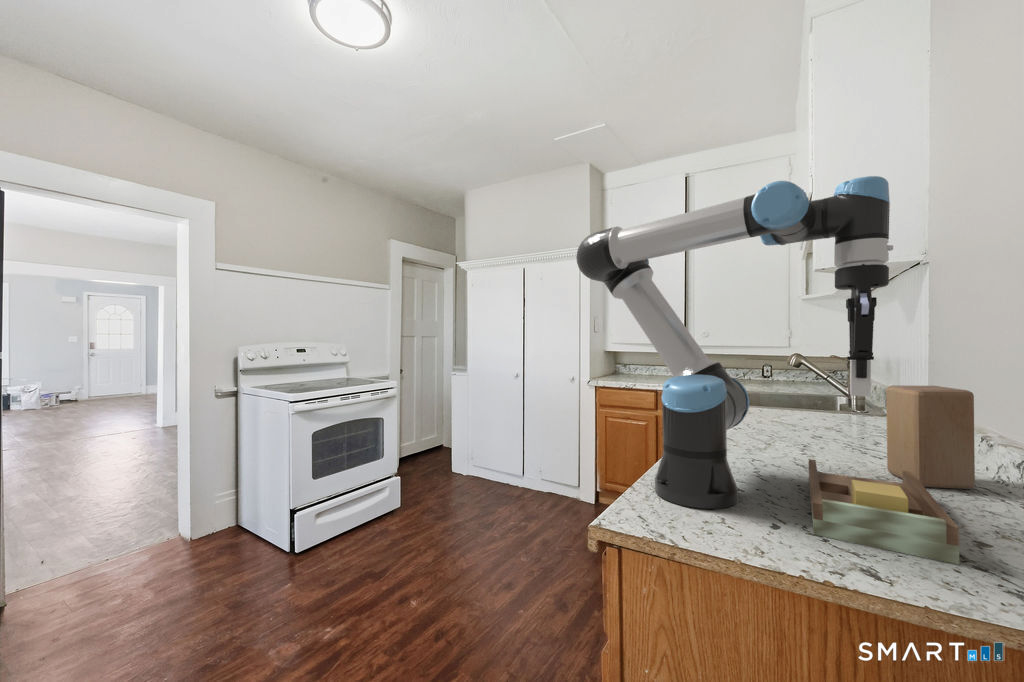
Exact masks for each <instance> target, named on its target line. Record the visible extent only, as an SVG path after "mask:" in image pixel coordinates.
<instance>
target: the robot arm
mask: <svg viewBox="0 0 1024 682" xmlns="http://www.w3.org/2000/svg"><path fill="white" fill-rule="evenodd" d="M834 190H835V191H834V193H833V195H832V196H829V197H824V198H821V199H813V200H809V197H808V196H807V192H805V191H804V189H803V188H801V187H800V186H798V185H797V184H796V183H793V182H791V181H787V180H776V181H773V182H769V183H768V184H766V185H765V186H763V187H762V188H760V190H758V191H757V193H754V194H751V195H747V196H745V197H741V198H738V199H734V200H730V201H725V202H722V203H717V204H716V205H711V206H707V207H704V208H700V209H696V210H691V211H687V212H684V213H680V214H677V215H673V216H669V217H666V218H661V219H657V220H654V221H651V222H647V223H643V224H639V225H635V226H632V227H631V226H630V227H627V228H624V229H623V228H622V227H621V226H612V227H610V228H606V229H602V230H600V231H599V230H598V231H596V232H593V233H591V234H590V235H587V236H586V237H585V238H584V239H583V240H582V241H581V243H580V244H579V246H578V248H577V252H576V263H577V267H578V269H579V271H580V272H581V273H582V274H583V276H585V277H586V278H588V279H590V280H593V281H597V282H600V283H604V285H605V286H606V288H607V290H608V291H609V293H610V294H611V295H612V297H613V298H615V299H620V300H622V302H624V304H625V305H626V307H627V308H628V310H629V311H630V313H631V314H632V316H633V317H634V319H635V321H636V322H637V323H638V325H639V326H640V328H641V329H642V331H643V332H644V334H645V335H646V337H647V339H648V340H649V342H650V343H651V345H652V346H653V348H654V349H655V350H656V352H657V354H658V355H659V357H660V358H661V360H662V361H663V363H664V364H665V365H666V367H667V368H668V370H669V371H670V373H671V375H672V376H673V377H670V378H668V379H666V380H665V381H664V382H663V385H662V393H661V402H662V404H661V406H662V408H661V409H662V410H661V411H662V444H663V445H662V449H663V450H662V451H663V452H662V456H661V460H660V461H659V462H660V463H659V464H658V467H657V468H658V469H657V471H656V474H655V477H654V492H655V493H656V494H657V495H658V497H660V498H662V499H664V500H666V501H668V502H670V503H673V504H677V505H680V506H684V507H689V508H695V509H706V510H707V509H708V510H709V509H713V510H714V509H715V510H717V509H725V508H730V507H732V506H734V505H736V504H737V503H738V501H739V500H738V499H739V498H738V495H739V494H738V487H737V484H736V480H735V478H734V475H733V472H732V470H731V467H730V465H729V462H728V461H729V460H728V458H727V457H728V453H727V446H728V445H727V431H728V430H730V429H732V428H734V427H736V426H738V425H739V424H740V423H742V421H743V420H744V419H745V417H746V416H747V414H748V412H749V409H750V402H751V401H750V396H749V394H748V393H749V392H748V390H747V389H746V387H745V386H744V385H743V384H742V383H741V382H740V381H738V380H737V379H736V378H735V377H733V376H730V375H729V373H728V372H727V370H726V369H725V368H724V367H723V365H722V364H721V362H720V361H719V360H714V359H710V358H708V356H707V355H706V353H705V352H704V351H703V350H702V348H701V347H700V345H699V344H698V342H697V341H696V340H695V337H693V336H692V334H691V333H690V331H689V330H688V328H687V327H686V326H685V325H684V323H683V322H682V320H681V318H680V317H679V316H678V314H677V313H676V312H675V310H674V309H673V308H672V306H671V305H670V304H669V302H668V300H667V299H666V298H665V296H664V294H662V292H661V291H660V289H659V288H658V287H657V285H656V284H655V283H654V281H653V276H654V270H653V269H652V267H651V266H650V261H649V259H654V258H659V257H663V256H669V255H672V254H677V253H678V254H679V253H682V252H688V251H692V250H697V249H701V248H707V247H711V246H716V245H722V244H725V243H731V242H736V241H740V240H744V239H745V240H746V239H750V238H755V237H759V238H760V240H761V243H763V245H765V246H785V245H789V244H795V243H801V242H808V241H816V240H824V239H831V238H832V239H833V238H834V240H835V241H834V262H833V264H834V265H833V266H834V267H836V270H835V271H834V288H835V289H836V290H839V291H840V290H842V291H847V290H849V291H851V293H850V294H851V295H850V298H847V299H845V308H846V309H847V322H848V323H849V324H848V325H849V328H848V330H849V333H848V334H849V335H848V336H849V351H848V355H849V356H846V360H847V361H849V363H850V364H849V365H850V367H849V368H850V371H849V372H850V373H849V374H850V377H849V379H850V381H849V384H850V385H849V386H850V387H849V388H850V390H849V392H850V393H849V394H850V396H852V397H853V396H854V397H866V398H867V397H868V398H870V397H871V396H872V394H871V393H872V392H871V391H872V390H871V388H872V387H871V385H872V384H871V381H872V380H871V377H872V376H871V372H872V370H871V369H872V368H871V367H872V366H871V365H872V363H871V362H872V360H873V361H874V360H875V359H874V358H875V356H874V352H873V343H874V342H873V341H874V325H875V324H874V321H875V319H876V318H875V317H876V316H875V315H876V313H875V308H876V306H877V304H878V302H877V297H872V289H879V288H884V287H885V288H886V287H887V286H888V285H889V283H890V274H889V273H890V268H889V266H888V265H887V264H886V263H887V262H889V259H890V257H889V252H890V251H893V250H894V245H892V244H889V241H890V240H889V239H890V212H891V211H890V206H891V203H890V188H889V181H888V180H887V179H886V178H885V177H883V176H879V175H878V176H877V175H869V176H862V177H861V176H860V177H855V178H852V179H851V180H846V181H843V182H841V183H839V184H838V185H837V186H836V187H835V189H834Z"/></svg>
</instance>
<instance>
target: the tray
mask: <svg viewBox="0 0 1024 682" xmlns="http://www.w3.org/2000/svg"><path fill="white" fill-rule="evenodd" d="M852 480H858V481H866V482H873V483H880V484H887V485H894V486H900V488H901V489H902V490H903V492H904V493H905V495H906V496H907V498H908V513H904V512H898V511H892V510H886V509H880V508H874V507H868V506H862V505H856V504H852ZM808 488H809V489H808V490H809V499H810V507H811V508H810V509H811V510H810V512H811V518H812V519H811V520H812V530H813V531H812V533H813V536H814V535H815V536H819V537H824V538H830V539H833V540H838V541H844V542H848V543H852V544H859V545H863V546H868V547H872V548H877V549H882V550H887V551H891V552H892V551H893V552H896V553H900V552H901V553H902V554H906V555H911V556H915V555H916V557H920V556H922V557H921V558H925V557H927V558H926V559H929V558H930V559H931V560H935V561H940V562H945V563H949V564H954V565H960V528H959V526H958V525H957V524H956V523H955V521H953V519H952V518H951V516H949V515H948V513H947V512H946V511H945V509H943V507H942V506H941V505H940V504H939V503H938V501H937V500H936V499H935V498H934V497H933V495H932V494H930V492H929V491H928V490H927V489H926V487H924V486H923V485H922V484H921V483H920V482H919V480H918V479H917V478H916V477H915V476H914V475H913V473H912V472H909V471H903V479H902V482H894V481H888V480H887V481H886V480H879V479H871V478H864V477H858V476H851V475H842V474H837V473H836V474H835V473H834V474H833V473H827V472H820V471H818V468H817V461H816V459H810V458H809V459H808ZM930 559H929V560H930Z"/></svg>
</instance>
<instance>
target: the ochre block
mask: <svg viewBox="0 0 1024 682" xmlns="http://www.w3.org/2000/svg"><path fill="white" fill-rule="evenodd" d="M852 504H856V505H862V506H868V507H874V508H880V509H886V510H892V511H898V512H904V513H908V498H907V496H906V495H905V493H904V492H903V490H902V489H901V488H900V486H894V485H887V484H880V483H873V482H866V481H858V480H852Z"/></svg>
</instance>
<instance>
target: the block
mask: <svg viewBox="0 0 1024 682" xmlns="http://www.w3.org/2000/svg"><path fill="white" fill-rule="evenodd" d="M885 391H886V392H885V394H886V395H885V396H886V455H887V456H886V457H887V458H886V459H887V460H886V462H887V463H886V465H887V466H886V467H887V472H888V473H889V474H891V475H894V476H896V477H898V478H899V479H902V480H903V471H909V472H912V473H913V475H914V476H915V477H916V478H917V479H918V480H919V482H920V483H921V484H922V485H923V486H924V488H934V489H935V488H936V489H954V490H957V489H959V490H960V489H961V490H971V489H974V488H975V487H976V486H975V485H976V479H975V478H976V477H975V476H976V475H975V473H976V471H975V466H976V465H975V463H976V462H975V395H974V393H973V392H972V391H970V390H968V389H962V388H953V387H947V386H938V385H905V384H904V385H900V384H899V385H897V384H895V385H894V384H893V385H889V386H887V387H886V390H885Z"/></svg>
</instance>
